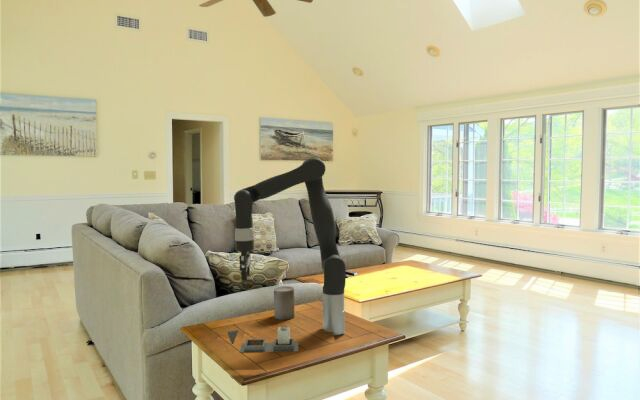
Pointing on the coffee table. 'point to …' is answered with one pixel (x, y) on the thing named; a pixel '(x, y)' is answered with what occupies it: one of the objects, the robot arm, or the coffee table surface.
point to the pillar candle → (284, 302)
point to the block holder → (267, 346)
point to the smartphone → (233, 335)
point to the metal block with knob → (283, 335)
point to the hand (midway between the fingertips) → (245, 278)
